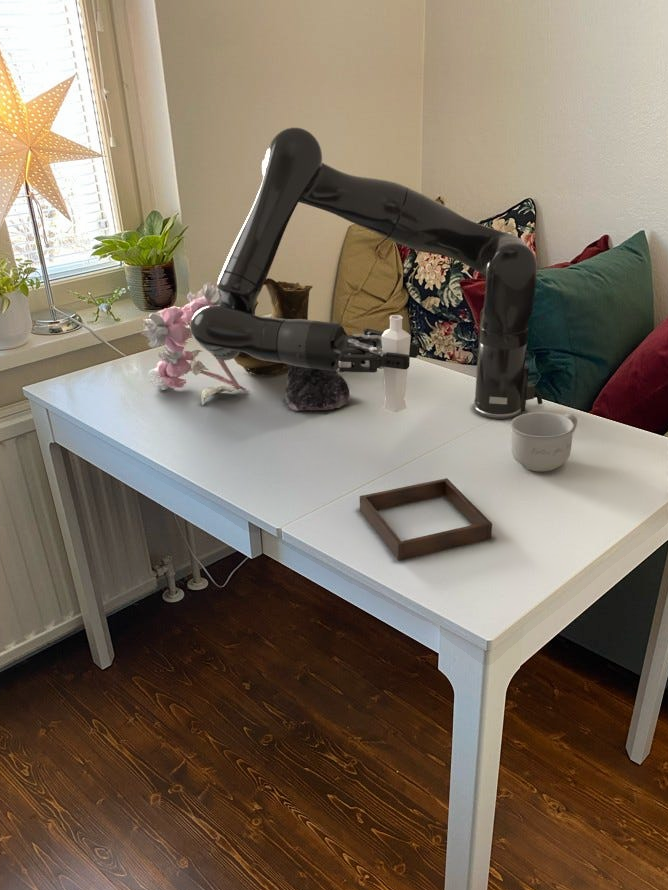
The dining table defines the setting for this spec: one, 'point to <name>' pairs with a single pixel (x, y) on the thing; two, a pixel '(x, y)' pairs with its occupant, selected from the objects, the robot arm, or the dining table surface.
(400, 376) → the perfume bottle
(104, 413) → the dining table surface
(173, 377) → the flower
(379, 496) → the walnut frame
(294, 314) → the pottery vessel
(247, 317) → the robot arm
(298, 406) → the crystal cluster
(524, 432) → the teacup
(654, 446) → the dining table surface
